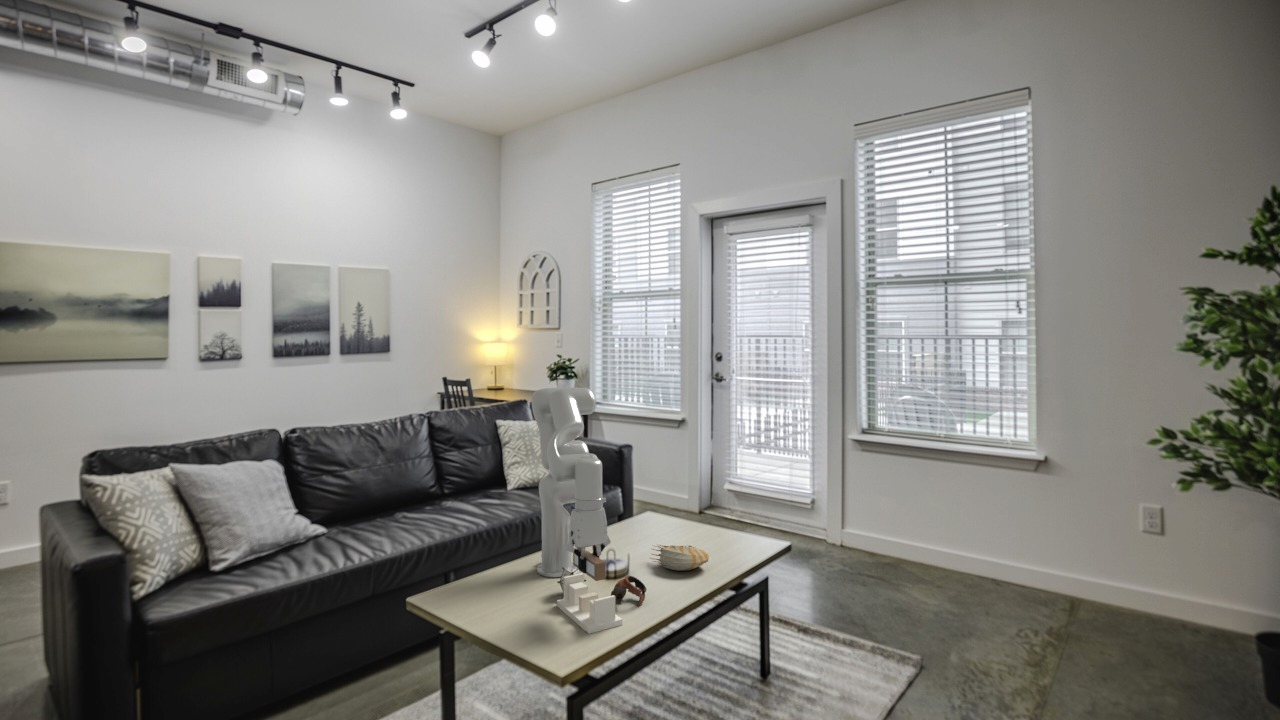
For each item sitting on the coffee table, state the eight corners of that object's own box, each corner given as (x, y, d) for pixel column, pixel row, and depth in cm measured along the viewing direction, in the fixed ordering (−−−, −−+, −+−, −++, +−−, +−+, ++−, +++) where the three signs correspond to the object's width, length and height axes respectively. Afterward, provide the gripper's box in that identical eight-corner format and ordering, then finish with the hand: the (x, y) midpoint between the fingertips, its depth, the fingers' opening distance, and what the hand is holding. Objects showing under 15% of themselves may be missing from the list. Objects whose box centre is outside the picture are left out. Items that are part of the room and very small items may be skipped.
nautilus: (637, 567, 210) (664, 557, 222) (690, 579, 197) (716, 568, 208) (637, 543, 211) (664, 535, 222) (689, 553, 197) (715, 544, 209)
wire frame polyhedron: (564, 607, 187) (546, 577, 188) (586, 590, 192) (568, 561, 193) (574, 602, 179) (555, 572, 181) (597, 584, 184) (578, 555, 186)
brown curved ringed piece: (618, 594, 188) (632, 571, 188) (640, 615, 183) (655, 592, 183) (596, 598, 178) (611, 573, 177) (619, 620, 173) (635, 596, 172)
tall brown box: (572, 565, 177) (572, 549, 177) (582, 563, 179) (582, 547, 179) (595, 581, 165) (595, 564, 165) (605, 578, 167) (605, 562, 167)
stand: (556, 605, 179) (556, 578, 178) (588, 598, 184) (588, 571, 184) (588, 633, 162) (588, 603, 161) (622, 624, 167) (622, 595, 167)
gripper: (608, 497, 179) (608, 561, 180) (555, 505, 171) (555, 571, 171) (621, 503, 173) (621, 569, 173) (567, 511, 164) (567, 580, 165)
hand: (588, 569), depth 172 cm, fingers closed on tall brown box, 3 cm apart
